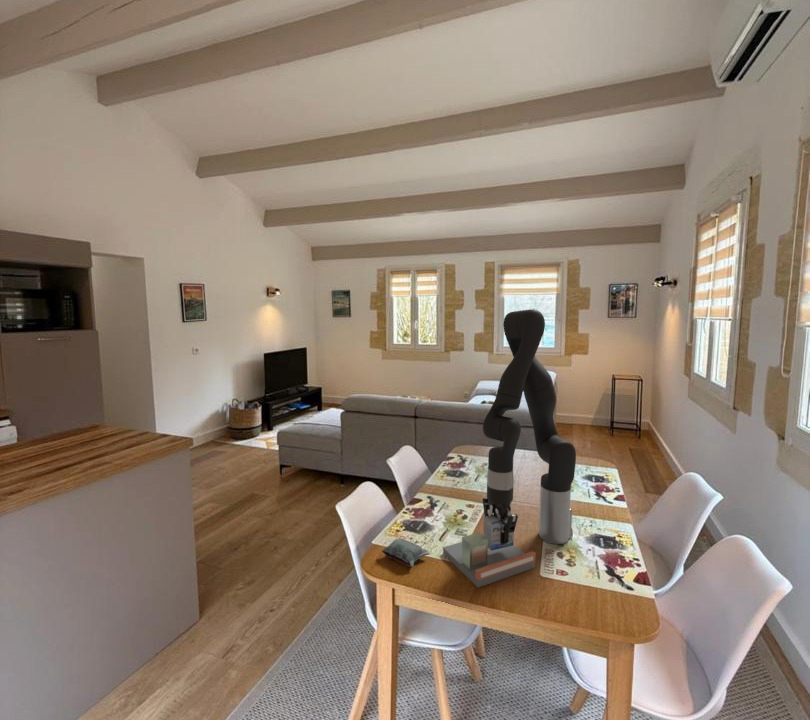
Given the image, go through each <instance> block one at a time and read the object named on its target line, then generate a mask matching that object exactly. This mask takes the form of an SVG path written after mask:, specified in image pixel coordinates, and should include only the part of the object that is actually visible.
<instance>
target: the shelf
mask: <svg viewBox="0 0 810 720" xmlns="http://www.w3.org/2000/svg"><path fill="white" fill-rule="evenodd" d="M442 553H443V555H444V556H445V557H446V558H447V559H448V560H449V561H450V563H452V564H453V565H454V566H455V567H456V568H457V569H458V570H459V571H460V572H461V573H462V575H464V576H465V577H466V578H467V579H468V580H469V581H471V583H472V584H474V586H475V587H476V588H481V587H483V586H487V585H489V584H493V583H494V582H495V583H496V582H498V581H501V580H504V579H507V578H510V577H511V576H512V577H513V576H515V575H518V574H521V573H523V572H526V571H529V570H532V569H535V568H536V552H534V550H533V551H529V552H527V553H525V552H523V550H521V548H518V547H517V546H515V545H514V544H513V546H509V547H504V548H500V549H496V550H492V551H491V550H490V549H489V548H488V563H487V566H484V567H481V568H478V569H475V570H471V571H469V570H468V569H467V568H466V567H465V566H464V565H463V564H462V541H461V542H457V543H455V544H450V545H448V546H443V547H442Z"/></svg>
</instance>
